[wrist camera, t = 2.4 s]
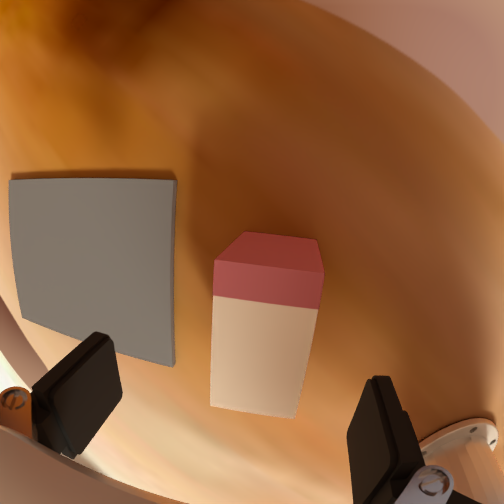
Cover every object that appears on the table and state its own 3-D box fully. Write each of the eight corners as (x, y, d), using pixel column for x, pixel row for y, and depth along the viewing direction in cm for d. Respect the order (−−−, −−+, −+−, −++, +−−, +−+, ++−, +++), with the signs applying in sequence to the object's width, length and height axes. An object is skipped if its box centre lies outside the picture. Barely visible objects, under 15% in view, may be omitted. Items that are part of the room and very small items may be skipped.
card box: (298, 351, 21) (294, 419, 14) (235, 342, 21) (209, 405, 15) (316, 239, 19) (324, 273, 12) (244, 231, 19) (214, 259, 13)
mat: (175, 363, 23) (172, 367, 22) (25, 315, 25) (22, 317, 25) (177, 180, 19) (173, 180, 19) (13, 179, 22) (8, 180, 21)
